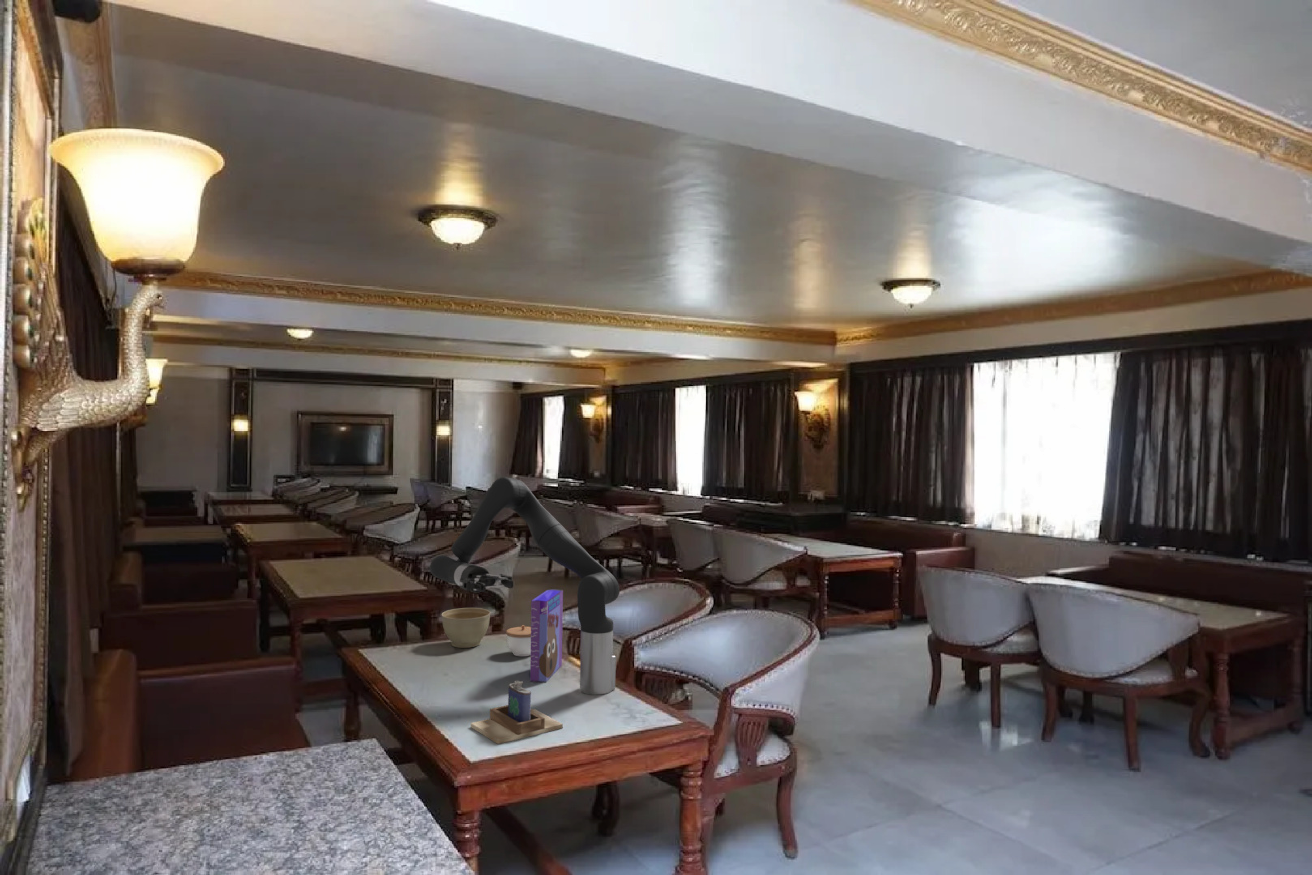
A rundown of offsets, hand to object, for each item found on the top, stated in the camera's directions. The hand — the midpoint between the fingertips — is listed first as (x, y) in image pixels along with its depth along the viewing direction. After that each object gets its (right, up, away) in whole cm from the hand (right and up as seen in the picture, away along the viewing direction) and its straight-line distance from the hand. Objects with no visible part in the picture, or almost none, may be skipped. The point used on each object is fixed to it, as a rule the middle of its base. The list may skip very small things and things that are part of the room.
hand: (498, 586), depth 240 cm
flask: (+10, -30, -26) cm, 41 cm away
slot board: (+9, -31, -26) cm, 41 cm away
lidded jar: (+1, -29, +41) cm, 51 cm away
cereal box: (+11, -30, +20) cm, 38 cm away
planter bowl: (-20, -29, +51) cm, 62 cm away
